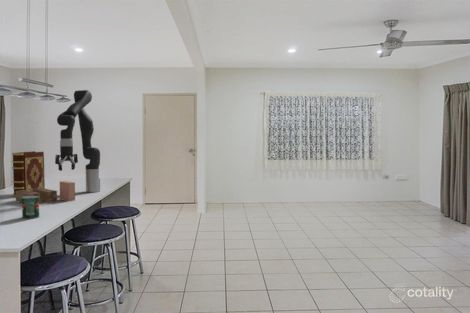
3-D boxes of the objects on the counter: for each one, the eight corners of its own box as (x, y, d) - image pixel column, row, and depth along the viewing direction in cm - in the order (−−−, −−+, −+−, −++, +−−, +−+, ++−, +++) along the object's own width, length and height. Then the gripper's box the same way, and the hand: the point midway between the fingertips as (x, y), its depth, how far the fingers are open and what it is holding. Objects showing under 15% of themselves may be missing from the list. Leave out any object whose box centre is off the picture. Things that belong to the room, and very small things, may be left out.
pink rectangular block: (65, 198, 241) (65, 180, 240) (75, 200, 235) (74, 182, 234) (59, 199, 238) (59, 181, 237) (69, 201, 232) (69, 183, 231)
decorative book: (21, 197, 243) (20, 153, 240) (11, 196, 244) (9, 152, 242) (45, 191, 264) (44, 151, 262) (35, 191, 266) (34, 151, 264)
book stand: (40, 197, 244) (40, 187, 243) (57, 200, 232) (56, 190, 232) (15, 200, 230) (15, 190, 230) (31, 204, 219) (31, 194, 219)
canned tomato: (19, 217, 188) (19, 196, 187) (35, 214, 194) (35, 194, 194) (26, 219, 183) (25, 198, 182) (42, 217, 189) (41, 196, 189)
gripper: (73, 145, 242) (73, 168, 243) (52, 145, 230) (53, 170, 231) (79, 145, 238) (80, 169, 239) (59, 145, 226) (59, 171, 227)
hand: (66, 170), depth 235 cm, fingers open, 8 cm apart
